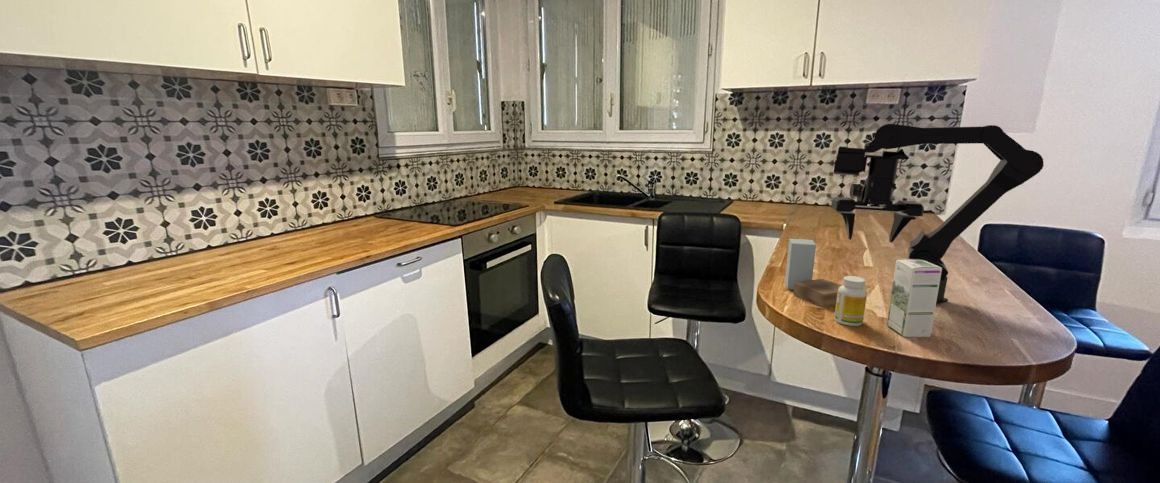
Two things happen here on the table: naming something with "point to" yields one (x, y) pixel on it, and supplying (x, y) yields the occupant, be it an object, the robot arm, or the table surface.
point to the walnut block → (817, 291)
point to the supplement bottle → (851, 301)
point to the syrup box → (914, 297)
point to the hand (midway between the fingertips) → (869, 240)
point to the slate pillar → (799, 261)
